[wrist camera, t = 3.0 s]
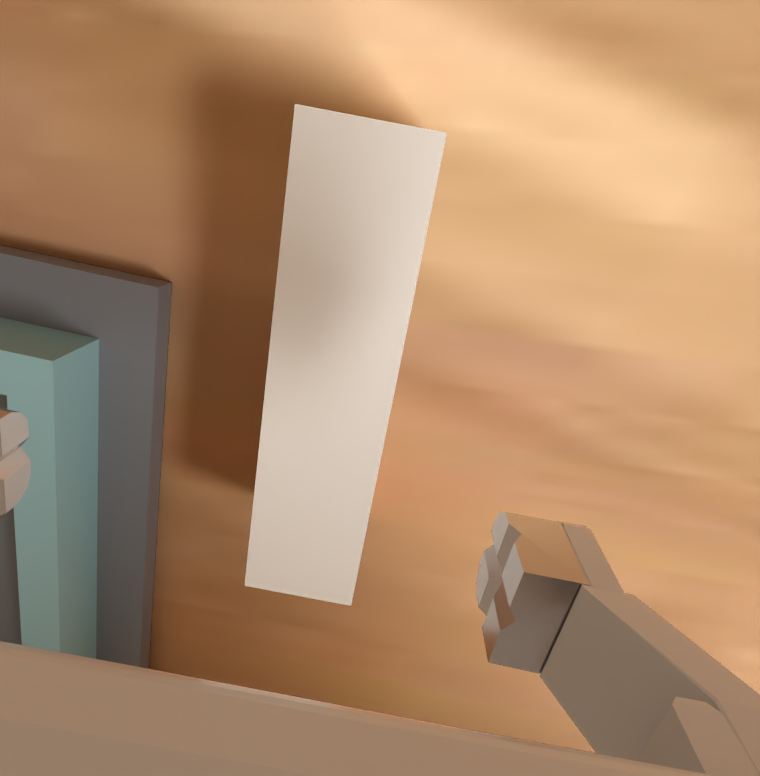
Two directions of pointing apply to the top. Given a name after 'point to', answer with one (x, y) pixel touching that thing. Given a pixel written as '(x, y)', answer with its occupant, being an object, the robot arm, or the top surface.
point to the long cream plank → (336, 343)
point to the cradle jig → (83, 454)
